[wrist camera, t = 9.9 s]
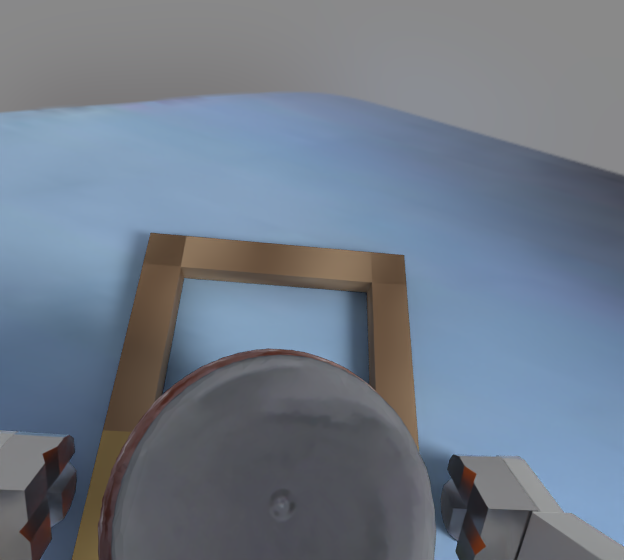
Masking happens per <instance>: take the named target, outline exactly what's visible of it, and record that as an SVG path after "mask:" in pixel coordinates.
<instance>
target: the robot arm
mask: <svg viewBox="0 0 624 560" xmlns="http://www.w3.org/2000/svg"><path fill="white" fill-rule="evenodd" d="M74 453H75V448H74V438H72V437H71V436H70V435H64V434H51V433H37V432H23V431H20V432H17V431H4V430H0V560H40V558H41V556H42V555H43V553H44V551H45V550H46V548H47V546H48V544H49V543H50V541H51V539H52V535H51V527H53V526H54V525H56V524H57V523H59V522H60V521H62V520H63V519H64V517H65V515H66V514H67V512H68V510H69V508H70V506H71V503H72V500H73V497H74V494H75V489H76V481H77V477H76V469H75V468H74V467H73V466H72V465H71V463H70V462H69V460H70V459H71V457H72V456H73V454H74ZM447 470H448V472H449V474H450V476H451V479H450V480H449V481H448V482H447V483H446V484H445V485H444V486H443V490H442V495H441V513H442V517H443V521H444V524H445V527H446V529H447V532H448V533H449V534H450V535H451V536H452V537H454V538H455V539H456V540H457V541H458V543H457V547H456V554H457V556H458V558H459V560H624V547H623V546H622V545H620V544H619V543H617V542H616V541H614V540H612V539H611V538H609V537H608V536H606V535H605V534H603V533H602V532H600V531H598V530H597V529H595V528H594V527H592V526H591V525H589V524H588V523H586V522H584V521H583V520H581V519H580V518H578V517H577V516H575V515H573V514H572V513H564V512H563V510H562V509H561V508H560V506H559V505H558V504H557V503H556V501H555V500H554V499H553V497H552V496H551V495H550V493H549V492H548V491H547V489H546V488H545V487H544V485H543V484H542V483H541V481H540V480H539V479H538V477H537V476H536V475H535V473H534V472H533V471H532V469H531V468H530V467H529V465H528V464H527V463H526V462H525V460H524V459H522V458H521V457H519V456H478V455H456V454H453V455H452V457H451V459H450V460H449V464H448V468H447Z"/></svg>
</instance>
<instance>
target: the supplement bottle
mask: <svg viewBox="0 0 624 560" xmlns="http://www.w3.org/2000/svg"><path fill="white" fill-rule="evenodd" d="M435 541H436V524H435V508H434V503H433V498H432V493H431V485H430V480H429V476H428V472H427V469H426V466H425V464H424V462H423V460H422V458H421V455H420V453H419V450H418V448H417V446H416V444H415V442H414V440H413V438H412V436H411V434H410V432H409V431H408V429H407V427H406V426H405V424H404V422H403V421H402V419H401V418H400V417H399V415H398V414H397V413H396V412H395V410H394V409H393V408H392V407H391V406H390V405H389V404H388V403H387V402H386V401H385V400H384V399H383V398H382V397H381V395H380V394H379V393H377V392H376V391H375V390H374V389H373V388H372V387H371V386H370V385H369V384H368V383H366V382H365V381H364V380H362V379H361V378H360V377H358V376H357V375H355V374H354V373H352V372H351V371H349V370H348V369H346V368H344V367H342V366H340V365H338V364H336V363H334V362H332V361H329V360H327V359H324V358H321V357H318V356H315V355H312V354H308V353H305V352H300V351H294V350H283V349H260V350H252V351H247V352H242V353H237V354H234V355H230V356H227V357H223V358H221V359H219V360H217V361H214V362H212V363H209V364H207V365H204V366H202V367H200V368H199V369H197V370H195V371H194V372H192V373H191V374H189V375H187V376H186V377H184V378H183V379H182V380H180V381H179V382H177V383H176V384H174V385H173V386H172V387H171V388H170V389H168V390H167V391H166V392H165V393H164V394H163V395H161V396H160V397H159V398H158V399H157V400H156V401H155V402H154V403H153V404H152V406H151V407H150V408H149V410H148V411H147V412H146V413H145V414H144V415H143V416H142V418H141V419H140V420H139V422H138V424H137V425H136V426H135V428H134V430H133V431H132V432H131V433H130V435H129V437H128V439H127V441H126V442H125V444H124V445H123V447H122V449H121V451H120V454H119V455H118V457H117V459H116V462H115V464H114V466H113V468H112V470H111V475H110V478H109V480H108V483H107V486H106V489H105V492H104V496H103V498H102V507H101V514H100V519H99V522H98V557H99V560H434V550H435Z"/></svg>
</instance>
